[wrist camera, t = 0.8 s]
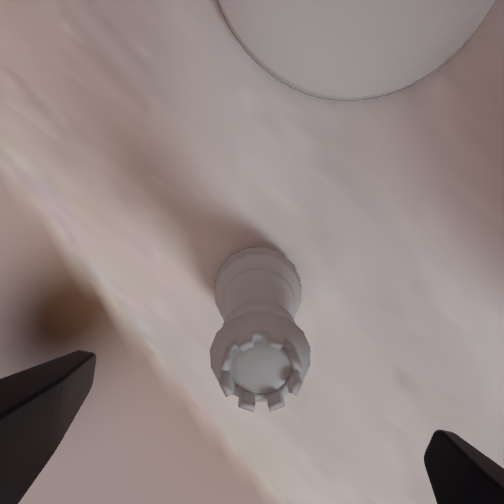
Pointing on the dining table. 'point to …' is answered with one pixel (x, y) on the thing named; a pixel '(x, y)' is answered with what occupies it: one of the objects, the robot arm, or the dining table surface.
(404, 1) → the candlestick
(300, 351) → the rook chess piece
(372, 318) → the dining table surface
